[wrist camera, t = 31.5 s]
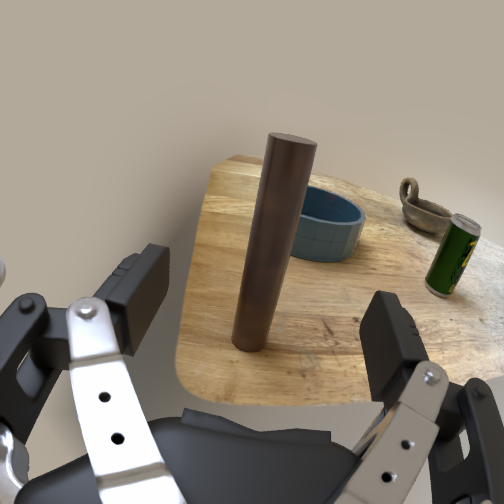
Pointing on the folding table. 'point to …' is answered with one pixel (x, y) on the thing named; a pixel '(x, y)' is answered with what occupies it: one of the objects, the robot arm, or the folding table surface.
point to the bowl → (423, 209)
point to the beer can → (452, 255)
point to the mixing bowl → (327, 227)
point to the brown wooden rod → (272, 236)
